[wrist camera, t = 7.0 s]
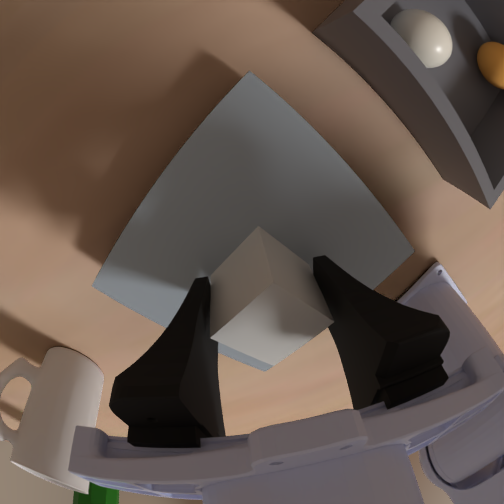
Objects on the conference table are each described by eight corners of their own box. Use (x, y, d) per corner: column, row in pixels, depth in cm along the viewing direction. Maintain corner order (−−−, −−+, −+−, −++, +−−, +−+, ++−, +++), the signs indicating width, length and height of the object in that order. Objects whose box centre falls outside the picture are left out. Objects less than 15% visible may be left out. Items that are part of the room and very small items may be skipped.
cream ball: (433, 47, 9) (473, 47, 7) (407, 78, 11) (447, 82, 8) (396, 4, 8) (433, -7, 5) (366, 34, 9) (403, 25, 7)
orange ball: (498, 70, 10) (532, 77, 7) (483, 94, 11) (519, 103, 8) (477, 32, 8) (512, 34, 6) (461, 55, 9) (499, 59, 7)
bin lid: (408, 244, 15) (452, 294, 11) (263, 362, 20) (273, 419, 16) (247, 72, 10) (265, 58, 6) (96, 277, 14) (67, 341, 10)
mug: (120, 377, 22) (104, 497, 12) (86, 390, 23) (67, 489, 13) (33, 309, 17) (-21, 437, 7) (11, 334, 18) (-30, 436, 8)
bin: (510, 76, 10) (554, 88, 6) (443, 179, 14) (490, 209, 11) (415, -56, 5) (458, -73, 1) (312, 32, 10) (352, 11, 6)
